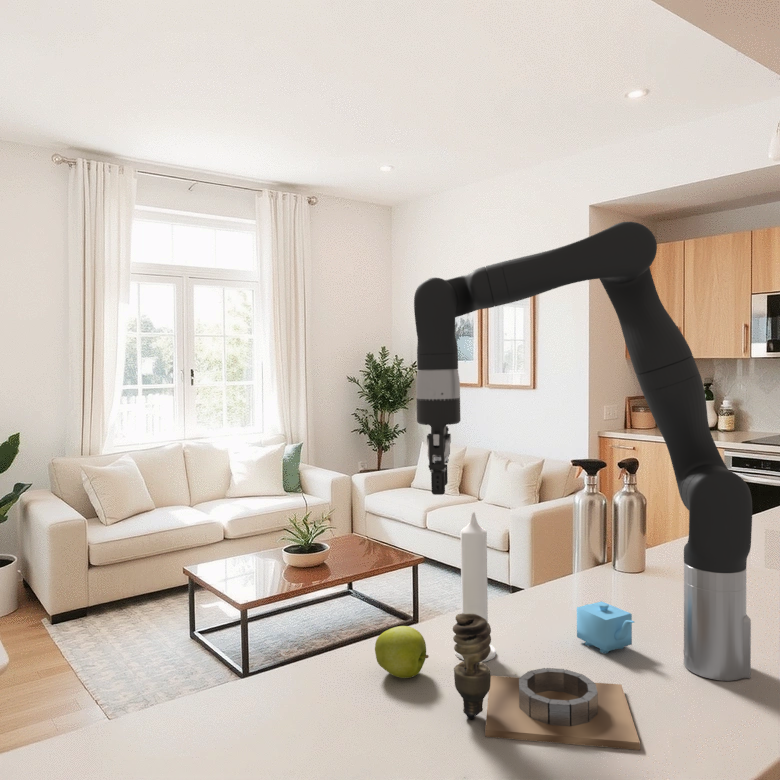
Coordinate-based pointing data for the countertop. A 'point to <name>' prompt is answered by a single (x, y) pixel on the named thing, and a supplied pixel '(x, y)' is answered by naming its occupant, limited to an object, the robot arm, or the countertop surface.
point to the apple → (401, 651)
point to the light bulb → (472, 661)
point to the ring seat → (558, 709)
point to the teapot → (604, 626)
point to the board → (602, 730)
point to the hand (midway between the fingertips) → (439, 489)
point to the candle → (474, 573)
